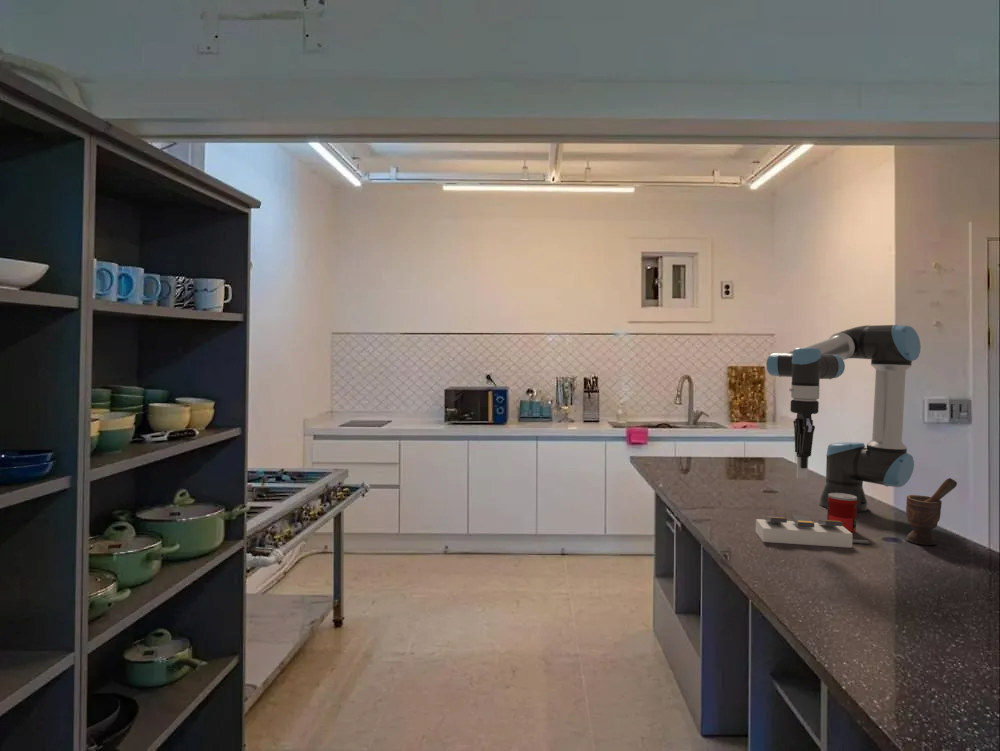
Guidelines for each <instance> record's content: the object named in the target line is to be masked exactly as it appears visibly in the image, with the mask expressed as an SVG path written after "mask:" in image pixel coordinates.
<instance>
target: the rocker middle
mask: <svg viewBox="0 0 1000 751" xmlns="http://www.w3.org/2000/svg"><path fill="white" fill-rule="evenodd" d="M791 521H794V522H795V524H796V525H797V526H798V527H814V523H815V522H814V521H813V520H812V519H810V517H809V516H807V515H796V514H795V515H794V514H791Z"/></svg>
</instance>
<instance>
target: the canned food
mask: <svg viewBox="0 0 1000 751" xmlns="http://www.w3.org/2000/svg"><path fill="white" fill-rule="evenodd" d="M826 513H827V515H826V516H827V517H826V520H834V521H841V522H842V526H843V527H845V528H846V529H847V530H848V531H850V532H851V533H852V534H854V533H855V532H856V530H857V516H858V514H857V497H856V496H854V495H850V494H845V493H829V494H828V508H827V512H826Z"/></svg>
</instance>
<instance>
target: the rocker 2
mask: <svg viewBox="0 0 1000 751" xmlns="http://www.w3.org/2000/svg"><path fill="white" fill-rule="evenodd" d="M817 523H818V524H822V525H830V526H842V522H841V521H834V520H827V519H818V520H817Z"/></svg>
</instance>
